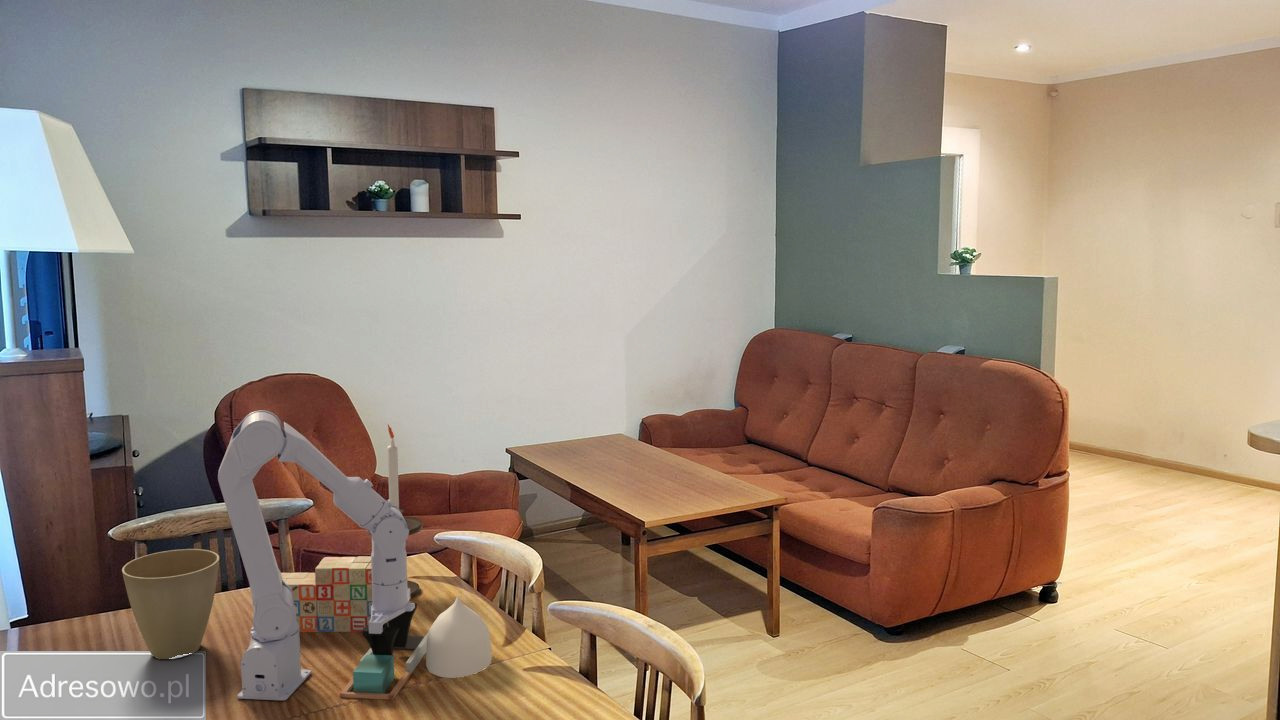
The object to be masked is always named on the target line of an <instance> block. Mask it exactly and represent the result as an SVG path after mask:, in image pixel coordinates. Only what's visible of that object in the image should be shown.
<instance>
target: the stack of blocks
mask: <svg viewBox="0 0 1280 720" xmlns="http://www.w3.org/2000/svg"><path fill="white" fill-rule="evenodd" d="M314 570H315V571H314V572H281V575H282V578H283V580H284V582H285V583H286V584H287V585H288V586H289V587H290V588H291V589H292V591H293V594H294V610H295V612H296V621H297V622H298V624H299V633H317V632H319V633H328V632H329V633H330V632H332V633H334V632H336V633H337V632H343V633H344V632H350V633H352V632H353V633H355V632H361V633H363V628H364V627H365V626H366V625H369V621H370V619H371V606H372V604H373V603H372V571H371V555H369V556H367V555H366V556H365V555H364V556H363V555H361V556H360V555H359V556H342V557H341V556H340V557H339V556H326V557H325V556H324V557H323V558H322V559H321V561H320V562H319V564H318V565H317V566H316V567H315V568H314ZM386 623H387V625H388V626H389V624H388V622H386Z"/></svg>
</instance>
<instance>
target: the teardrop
mask: <svg viewBox="0 0 1280 720" xmlns="http://www.w3.org/2000/svg"><path fill="white" fill-rule="evenodd" d="M429 630H430V631H429ZM429 630H428V631H429V634H428V637H427V652H426V653H425V655H426V656H425V657H426V658H425V667H426V668H427V671H428V672H429V673H430V674H433V675H435V676H438V677H439V678H448V679H457V678H456V677H458V678H459V677H462V678H465V677H464V676H466V677H469V676H468V675H471V676H473V675H472V674H475V673H477V672H479V671H481V670H483V669H484V668H487V667H488V666H489V664H490V663H491V664H492V662H491V660H492V661H493V654H492V645H491V644H492V643H491V642H492V641H491V633H490V630H489V627H488V625H487V624H486V623H485V621H484V620H483V618H482V617H481V616H480V615H479V614H478V613H477V612H475V611H474V610H473V609H471V608H470V607H468V606H467V605H465V604H464V603H463V602H462V601H461V598H460V597H459V596H458V595H457V597H456V598H455V600H454V602H453V604H452V605H450V606H449V607H448V608H447V609H446V610H444V611H443V612H441V613H440V614H439V615H438V616H437V618H436V619H435V621H434V622H433V623H432V624H431V626H430V628H429ZM489 667H490V666H489ZM489 667H488V668H489ZM488 668H487V669H488ZM459 679H460V678H459Z"/></svg>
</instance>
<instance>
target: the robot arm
mask: <svg viewBox="0 0 1280 720" xmlns="http://www.w3.org/2000/svg"><path fill="white" fill-rule="evenodd" d="M275 457H277V461H278V462H280V463H281V462H282V463H294V464H297V465H299V466H300V467H301V468H303V469H304V470H305V471H306V472H308V473H309V474H310V475H311V476H312V477H314V478H315V479H316V480H318V481H319V482H320V483H321V484H322V485H324V486H325V487H326V488H327V489H329V490H330V491H331V492H333V495H332V496H333V497H332V501H333V504H334V506H335V507H337V508H338V509H339V510H340V511H342V512H343V513H344V514H345V515H346V516H347V517H349V518H350V519H351V520H352V521H353V522H354V523H355V524H356V525H358V526H359V527H360V528H361V529H365V530H366V531H367V530H369V532H370V533H371V535H370V536H371V554H370V556H371V571H372V603H373V604H372V606H371V619H370V621H369V625H366V626H365V627H364V628H363V632H362V635H363V637H364V639H365V640H366V642H367V643H368V645H369V647H370V648H371V649H372V652H373V655H393V653H394V649H393V647H400V648H405V646H406V643H407V639H408V636H409V633H410V628H411V624H412V620H413V618H414V614H415V612H416V611H417V608H418V604H417V603H416V602H410V600H411V598H410V588H407V581H408V560H407V558H408V557H407V550H406V546H407V543H406V541H407V539H408V537H409V536H410V535H409V529H408V527H407V523H406V521H405V519H404V517H403V516H404V515H403V513H401V512H400V511H399V510H398V509H397V507H396V506H395V505H393V503H392V502H391V501H390V500H389V498H388V499H387V500H386V499H385V498H383V496H381V494H379V493H378V492H376V490H375V489H374V488H372V487H374V485H373V483H372V482H371V481H370V480H369V479H368V478H366V479H362V478H361V477H360V476H346V475H345V474H344V472H343V471H341V469H339V468H338V467H337V466H336V464H333V463H332V461H331V460H329V459H328V458H327V457H326V456H325V455H324V454H323V453H322V452H321V451H320V450H319V449H318V448H317V447H316V446H315V445H314V444H312V442H311V441H310V440H308V439H307V437H305V436H304V435H303V434H301V433H300V432H299V431H298V430H297V429H295V428H294V427H292V426H291V425H290V424H288V423H287V422H285V421H283V424H282V421H281V420H280V418H279V416H278V415H276V414H275V413H273V412H272V411H269V410H264V409H260V410H255V411H252V412H249V414H247V415H246V416H245V417H244V418H243V419H242V420H241V421H240V422H239V424H238V425H237V426H236V427H235V428H234V429H233V432H232V435H231V437H230V440H229V444H228V445H227V447H226V451H225V454H224V456H223V458H222V461H221V463H220V466H219V468H218V472H217V473H218V474H217V481H218V485H219V488H220V491H221V494H222V497H223V501H224V504H225V508H226V510H227V513H228V516H229V517H228V518H229V521H230V524H231V527H232V531H233V534H234V537H235V540H236V542H237V546H238V550H239V554H240V557H241V559H242V563H243V566H244V570H245V573H246V577H247V580H248V585H249V587H250V595H251V600H252V606H253V617H252V627H251V628H250V641H249V645H248V647H247V650H245V651H244V653H243V655H242V657H241V660H240V670H241V672H240V673H241V687H242V688H241V689H242V690H241V691H240V692H239V693H237V695H236V696H237V697H236V698H237V699H239V700H241V699H244V700H266V701H286V700H288V699H289V698H290V697H291V696H292V694H293V693H295V691H296V690H297V689H298V688H299V687H300V686H301V685H302V684H303V683H304V681H305V680H306V679H307V678H308V677H309V676H310V675H311V674H312V670H310V669H301V668H302V667H301V666H302V665H301V644H300V641H301V640H300V632H299V624H298V622H297V621H296V612H295V610H294V594H293V591H292V589H291V588H290V587H289V586H288V585H287V584H286V583H285V582H284V580H283V578H282V575H281V573H282V572H281V570H280V568H279V565H278V563H277V559H276V556H275V552H274V549H273V546H272V542H271V539H270V536H269V532H268V529H267V525H266V521H265V519H264V515H263V512H262V507H261V505H260V502H259V497H258V495H257V491H256V488H255V484H254V481H253V479H254V478H255V477H256V475H257V474H258V472H259V471H260V470H261V468H262V467H263V466H264V465H265V464H267V463H268V462H269V461H271V460H273V459H274V458H275ZM408 535H409V536H408ZM386 622H388V625H387V623H386Z"/></svg>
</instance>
